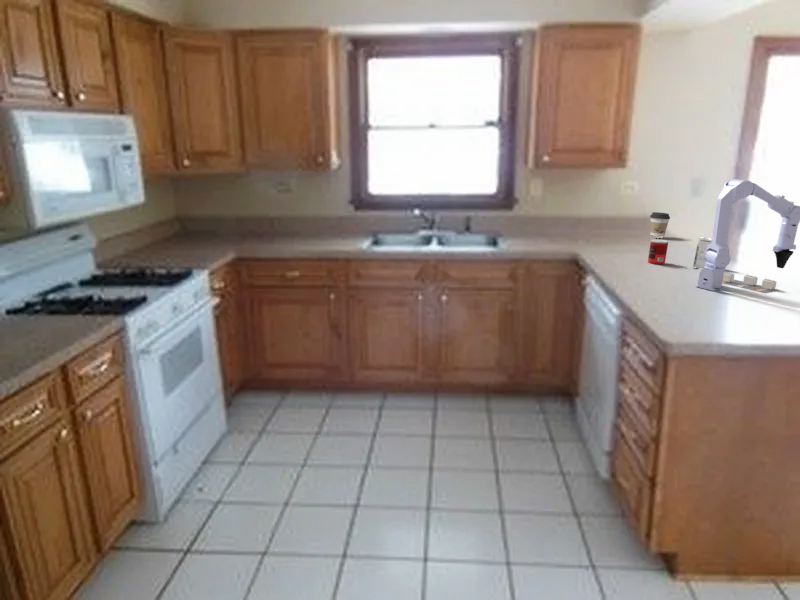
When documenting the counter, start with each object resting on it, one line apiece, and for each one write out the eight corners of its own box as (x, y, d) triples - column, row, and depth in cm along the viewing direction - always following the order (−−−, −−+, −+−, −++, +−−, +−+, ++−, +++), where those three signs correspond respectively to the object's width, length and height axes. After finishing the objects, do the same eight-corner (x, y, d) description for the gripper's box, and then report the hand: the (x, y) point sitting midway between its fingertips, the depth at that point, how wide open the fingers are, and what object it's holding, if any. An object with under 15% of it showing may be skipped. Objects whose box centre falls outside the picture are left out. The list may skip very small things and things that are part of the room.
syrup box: (695, 266, 292) (701, 236, 289) (709, 268, 289) (714, 238, 285) (692, 268, 288) (698, 237, 284) (706, 270, 285) (711, 239, 281)
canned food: (667, 263, 297) (670, 240, 294) (660, 265, 291) (664, 242, 288) (651, 260, 302) (654, 238, 299) (645, 262, 296) (648, 240, 293)
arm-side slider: (729, 282, 257) (730, 274, 256) (720, 280, 260) (721, 272, 259) (733, 281, 259) (734, 273, 258) (723, 279, 262) (725, 271, 261)
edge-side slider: (771, 289, 247) (773, 281, 246) (761, 287, 251) (762, 279, 250) (775, 288, 249) (776, 280, 248) (765, 286, 252) (766, 278, 251)
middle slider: (752, 285, 253) (754, 277, 252) (743, 283, 257) (744, 275, 256) (756, 284, 255) (758, 276, 254) (746, 282, 258) (748, 274, 257)
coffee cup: (648, 239, 365) (652, 214, 361) (644, 236, 376) (648, 211, 372) (669, 240, 363) (673, 215, 359) (664, 237, 374) (668, 212, 370)
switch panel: (764, 295, 243) (765, 293, 242) (711, 283, 260) (712, 280, 260) (780, 292, 249) (780, 289, 249) (727, 280, 267) (727, 277, 266)
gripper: (788, 237, 240) (781, 271, 244) (806, 235, 248) (799, 268, 252) (770, 234, 246) (763, 267, 250) (788, 232, 254) (781, 264, 257)
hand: (780, 267), depth 251 cm, fingers closed
